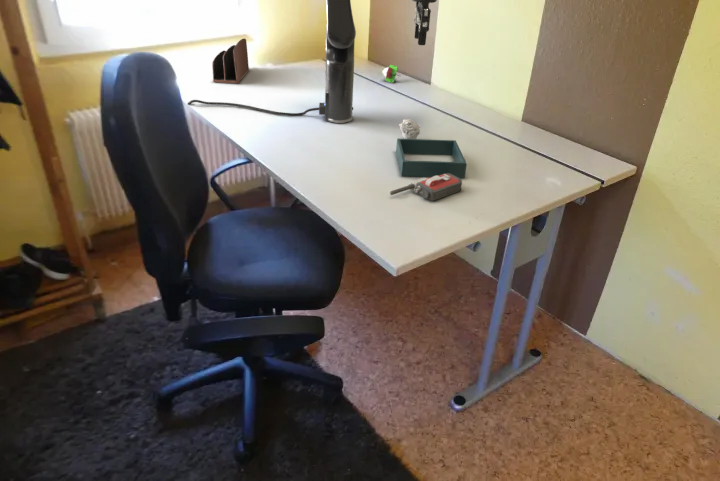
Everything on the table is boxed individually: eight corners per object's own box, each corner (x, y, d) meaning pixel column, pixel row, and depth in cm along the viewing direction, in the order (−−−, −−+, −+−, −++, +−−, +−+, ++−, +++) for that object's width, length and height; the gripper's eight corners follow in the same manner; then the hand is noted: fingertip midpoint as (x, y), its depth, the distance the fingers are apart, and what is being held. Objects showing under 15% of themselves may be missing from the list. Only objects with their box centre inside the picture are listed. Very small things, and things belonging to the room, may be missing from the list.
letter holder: (249, 70, 232) (247, 35, 224) (238, 84, 215) (235, 47, 208) (225, 69, 232) (222, 34, 225) (212, 82, 215) (209, 45, 208)
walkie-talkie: (442, 177, 151) (387, 196, 140) (444, 163, 149) (388, 180, 138) (465, 190, 146) (410, 210, 135) (468, 175, 143) (412, 194, 132)
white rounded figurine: (394, 138, 175) (396, 117, 171) (413, 135, 177) (416, 115, 173) (403, 145, 170) (405, 123, 166) (423, 142, 172) (425, 121, 169)
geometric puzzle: (391, 72, 232) (386, 58, 226) (405, 75, 229) (400, 61, 222) (383, 85, 231) (377, 72, 224) (396, 88, 227) (391, 75, 221)
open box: (401, 176, 151) (402, 161, 148) (395, 152, 165) (397, 138, 162) (464, 178, 152) (466, 163, 149) (453, 154, 166) (455, 140, 163)
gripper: (409, -21, 164) (404, 36, 173) (415, -14, 152) (410, 46, 161) (434, -20, 165) (428, 37, 173) (442, -13, 152) (435, 47, 161)
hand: (419, 41), depth 167 cm, fingers open, 8 cm apart
